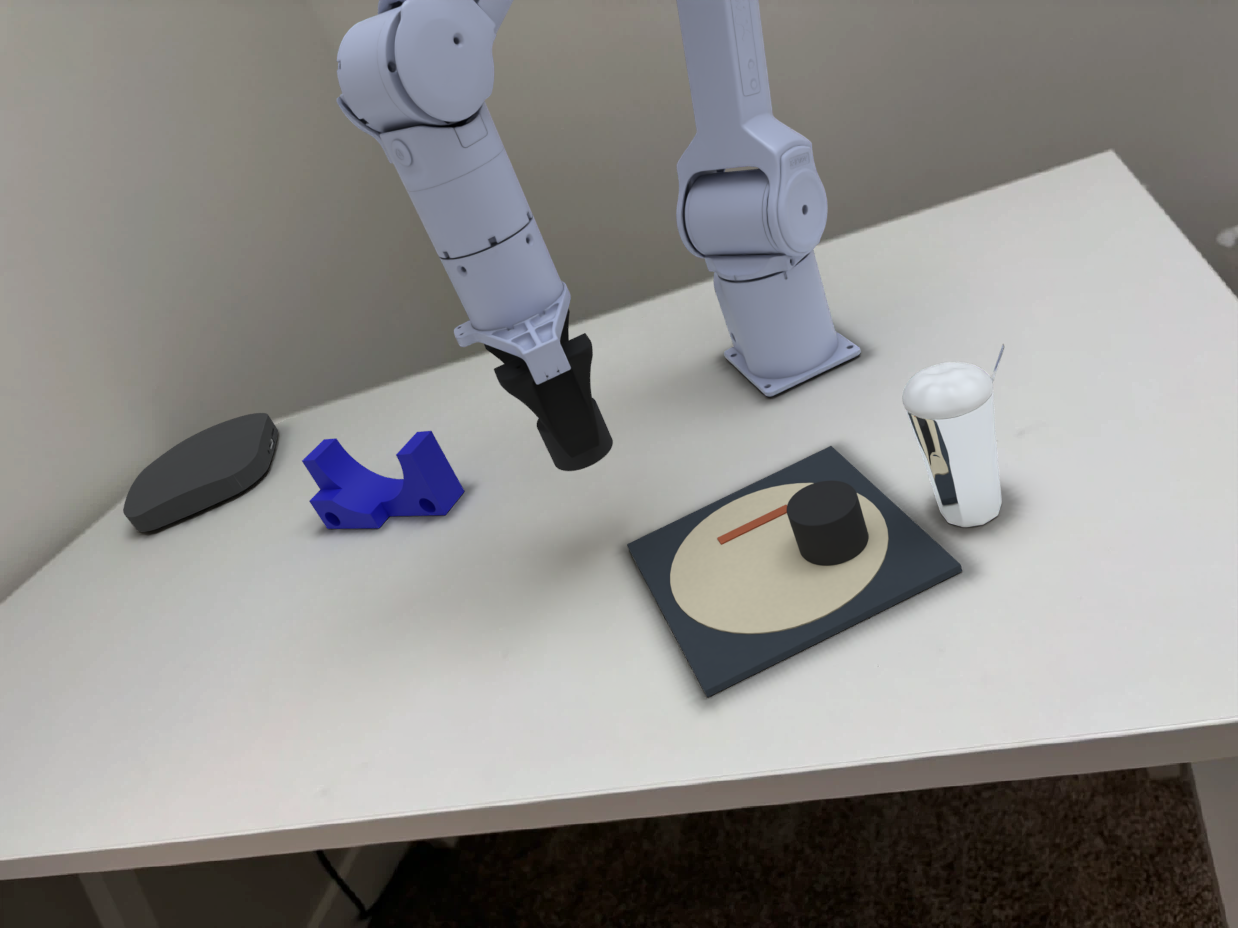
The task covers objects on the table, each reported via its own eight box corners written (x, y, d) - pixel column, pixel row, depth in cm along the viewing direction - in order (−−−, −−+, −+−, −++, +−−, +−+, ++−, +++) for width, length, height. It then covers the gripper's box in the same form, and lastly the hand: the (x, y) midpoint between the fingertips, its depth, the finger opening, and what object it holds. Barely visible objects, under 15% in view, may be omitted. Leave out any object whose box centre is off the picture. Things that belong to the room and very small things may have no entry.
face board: (628, 549, 62) (625, 541, 62) (832, 451, 63) (830, 442, 63) (707, 697, 49) (703, 688, 49) (962, 571, 50) (960, 561, 50)
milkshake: (1036, 526, 51) (1010, 368, 46) (932, 541, 53) (896, 391, 48) (1023, 475, 54) (998, 324, 49) (926, 491, 56) (893, 347, 51)
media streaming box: (128, 545, 91) (109, 522, 90) (162, 474, 104) (145, 452, 102) (268, 485, 91) (251, 460, 90) (284, 420, 104) (270, 398, 102)
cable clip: (327, 528, 80) (290, 472, 77) (358, 494, 83) (324, 439, 80) (435, 527, 73) (399, 466, 70) (464, 491, 76) (431, 430, 73)
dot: (788, 540, 56) (774, 500, 55) (848, 510, 56) (836, 470, 55) (818, 576, 53) (804, 535, 51) (882, 544, 53) (870, 503, 51)
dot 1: (549, 452, 62) (530, 414, 60) (604, 426, 62) (588, 387, 60) (561, 479, 58) (542, 440, 57) (620, 452, 59) (603, 412, 57)
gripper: (411, 234, 59) (500, 415, 66) (430, 303, 46) (538, 517, 53) (515, 187, 59) (593, 372, 66) (562, 243, 47) (652, 463, 53)
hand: (576, 433), depth 59 cm, fingers closed on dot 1, 4 cm apart
